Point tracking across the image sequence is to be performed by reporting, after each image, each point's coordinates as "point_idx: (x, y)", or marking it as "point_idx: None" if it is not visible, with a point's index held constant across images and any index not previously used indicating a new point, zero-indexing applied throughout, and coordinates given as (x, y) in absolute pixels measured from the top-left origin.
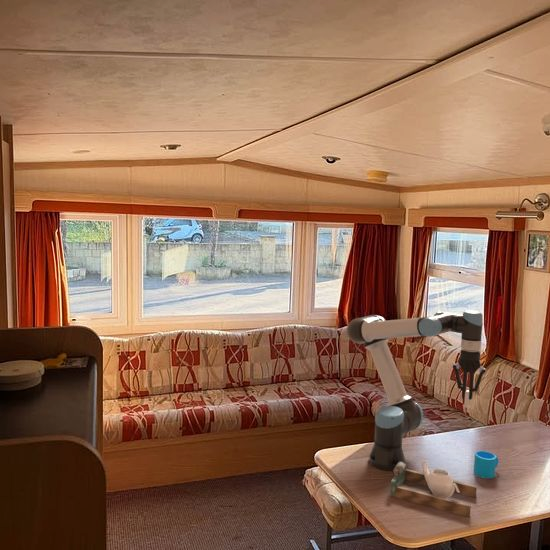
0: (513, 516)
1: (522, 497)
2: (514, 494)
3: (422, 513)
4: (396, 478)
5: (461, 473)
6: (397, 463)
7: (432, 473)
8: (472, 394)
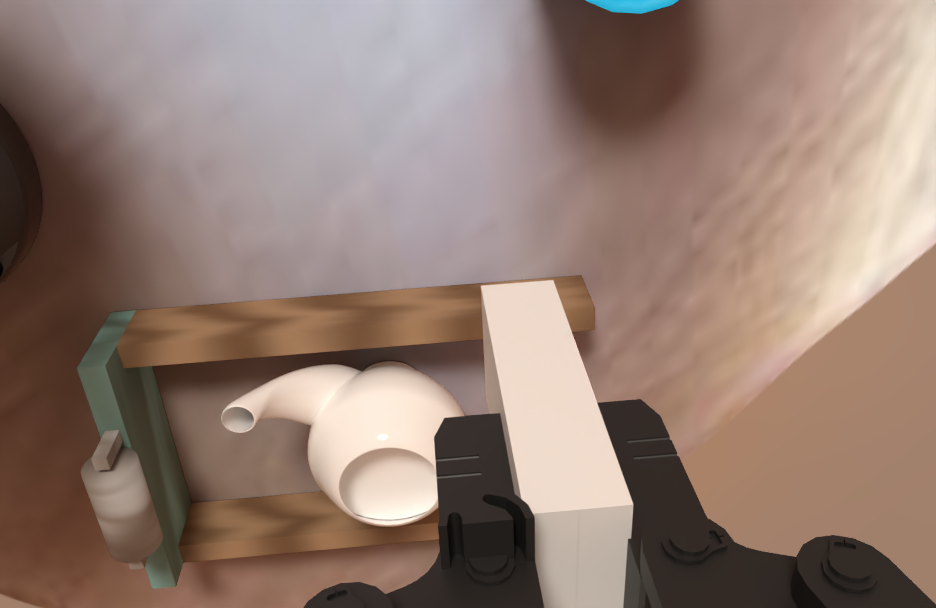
0: (781, 365)
1: (855, 127)
2: (809, 115)
3: (374, 563)
4: (162, 555)
5: (436, 5)
6: (3, 255)
7: (347, 513)
8: (684, 488)
